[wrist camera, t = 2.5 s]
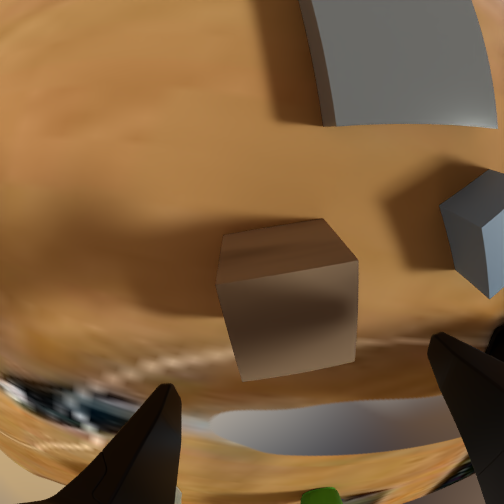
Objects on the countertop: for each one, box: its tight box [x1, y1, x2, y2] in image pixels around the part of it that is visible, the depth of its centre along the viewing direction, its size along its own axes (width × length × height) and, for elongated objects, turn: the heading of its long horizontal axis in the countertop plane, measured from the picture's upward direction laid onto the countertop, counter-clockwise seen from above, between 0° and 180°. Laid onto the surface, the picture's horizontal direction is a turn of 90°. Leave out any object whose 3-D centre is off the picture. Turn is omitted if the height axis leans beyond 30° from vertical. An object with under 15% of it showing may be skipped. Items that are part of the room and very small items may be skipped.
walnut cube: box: [215, 219, 358, 382], centre depth 13 cm, size 5×5×5 cm
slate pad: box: [298, 0, 498, 129], centre depth 9 cm, size 10×10×2 cm
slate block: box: [439, 169, 504, 299], centre depth 13 cm, size 5×5×4 cm
